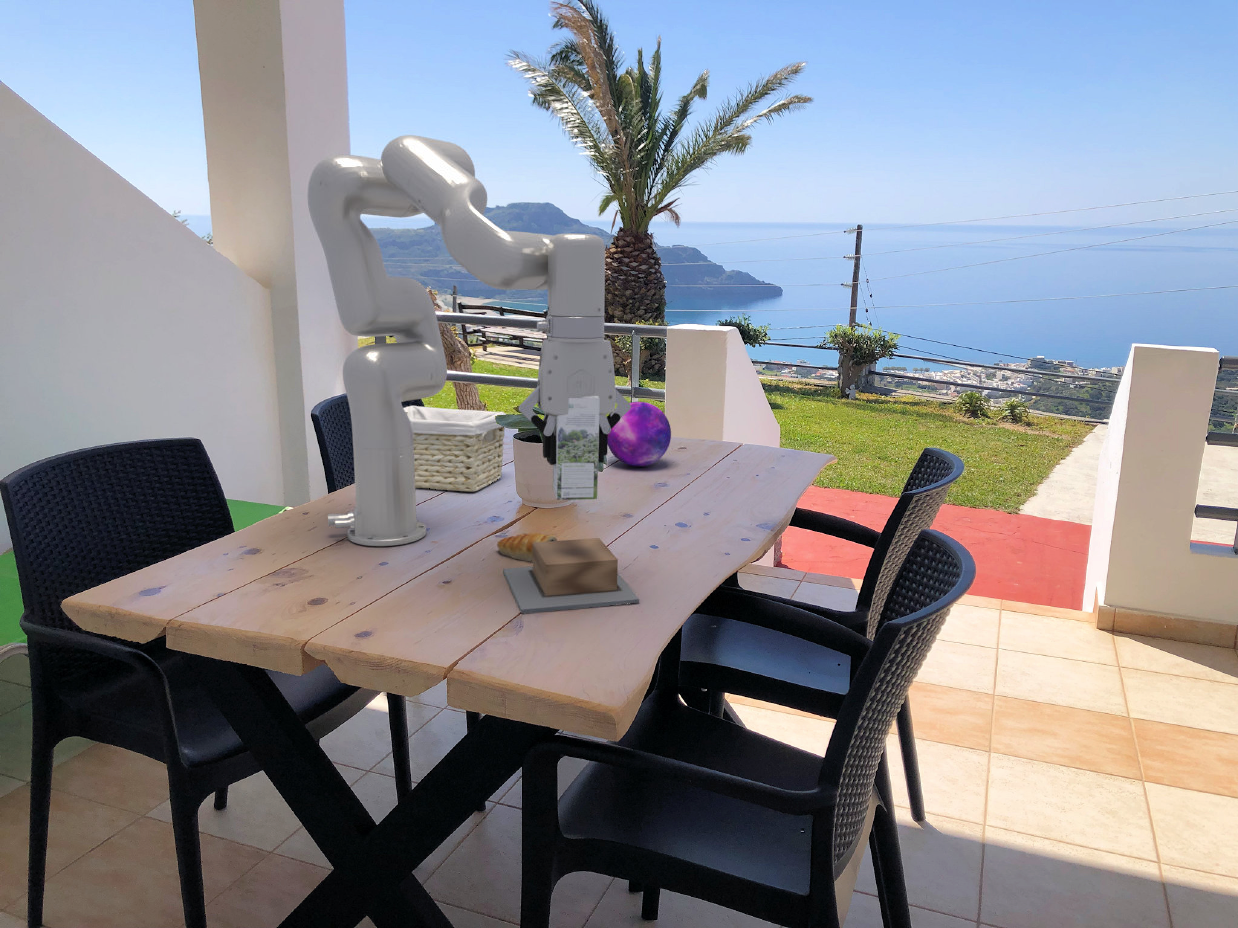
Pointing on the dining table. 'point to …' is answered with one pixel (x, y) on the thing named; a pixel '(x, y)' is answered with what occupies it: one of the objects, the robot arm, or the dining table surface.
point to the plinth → (573, 567)
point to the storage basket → (456, 448)
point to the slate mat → (533, 601)
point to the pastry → (522, 545)
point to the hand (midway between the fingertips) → (575, 460)
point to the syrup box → (577, 450)
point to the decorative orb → (640, 435)
